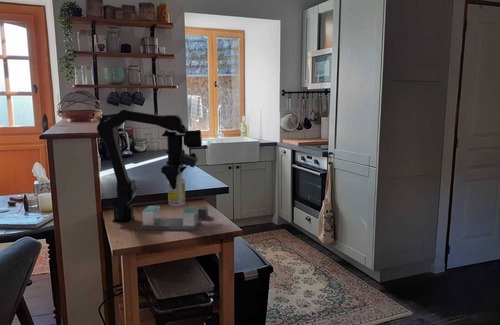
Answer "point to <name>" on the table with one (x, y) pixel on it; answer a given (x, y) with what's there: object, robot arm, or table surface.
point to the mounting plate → (170, 220)
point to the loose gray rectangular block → (202, 212)
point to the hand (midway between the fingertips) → (176, 186)
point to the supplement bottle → (177, 192)
